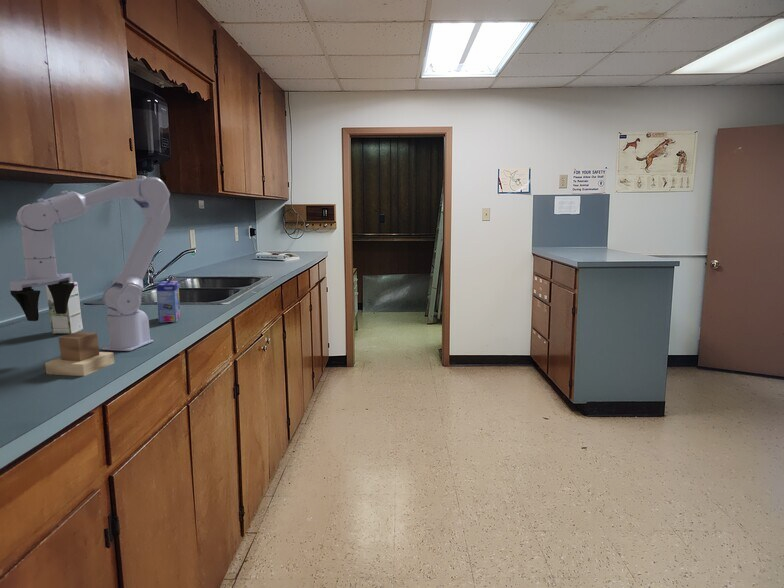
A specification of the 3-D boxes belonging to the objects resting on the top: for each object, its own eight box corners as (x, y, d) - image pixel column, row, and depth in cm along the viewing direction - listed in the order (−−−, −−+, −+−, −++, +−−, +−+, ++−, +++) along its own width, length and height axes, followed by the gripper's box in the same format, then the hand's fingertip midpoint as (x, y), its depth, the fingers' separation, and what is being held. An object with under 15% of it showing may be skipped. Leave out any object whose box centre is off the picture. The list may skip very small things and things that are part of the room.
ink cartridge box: (177, 322, 150) (173, 277, 148) (158, 323, 149) (154, 277, 146) (181, 316, 160) (178, 273, 157) (163, 317, 158) (159, 273, 156)
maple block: (79, 363, 111) (78, 350, 110) (114, 364, 110) (113, 352, 109) (46, 376, 102) (45, 362, 102) (84, 378, 101) (82, 364, 100)
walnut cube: (81, 353, 108) (78, 331, 108) (99, 354, 107) (97, 333, 106) (61, 359, 104) (58, 337, 103) (80, 361, 102) (77, 338, 102)
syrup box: (83, 329, 141) (78, 281, 139) (71, 334, 136) (65, 283, 133) (64, 329, 141) (58, 281, 139) (50, 334, 135) (44, 284, 133)
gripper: (51, 255, 115) (58, 310, 117) (-7, 260, 101) (2, 323, 103) (77, 255, 114) (84, 311, 116) (23, 261, 100) (31, 324, 102)
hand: (47, 317), depth 110 cm, fingers open, 7 cm apart
